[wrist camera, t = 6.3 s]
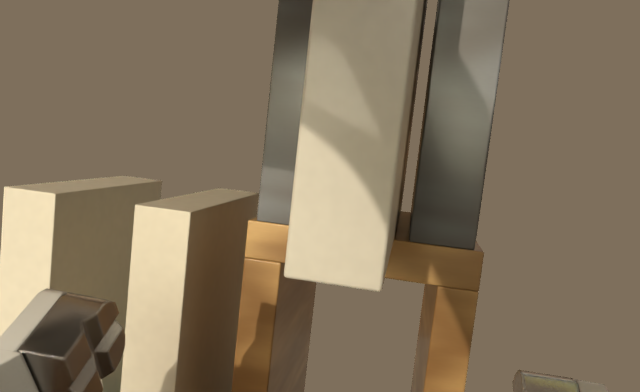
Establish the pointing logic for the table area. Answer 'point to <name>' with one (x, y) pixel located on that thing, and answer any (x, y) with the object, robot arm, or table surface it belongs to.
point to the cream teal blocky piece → (136, 271)
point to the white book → (353, 139)
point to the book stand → (413, 228)
